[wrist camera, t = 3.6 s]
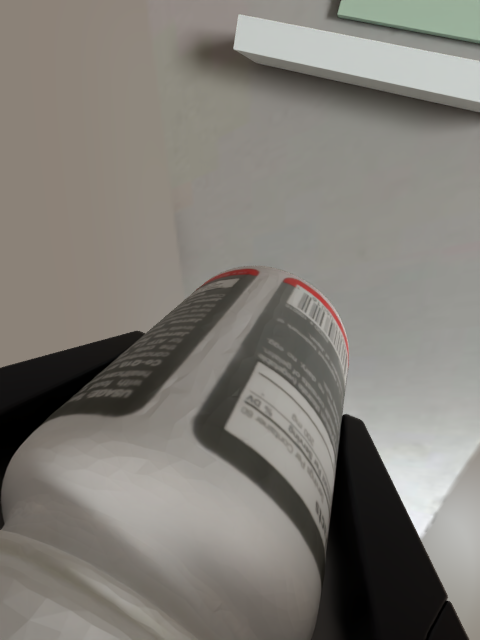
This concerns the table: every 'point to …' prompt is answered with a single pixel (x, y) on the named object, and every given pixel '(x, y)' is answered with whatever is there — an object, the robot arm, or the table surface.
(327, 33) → the acrylic wall
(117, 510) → the pill bottle
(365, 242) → the table surface
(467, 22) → the coaster
